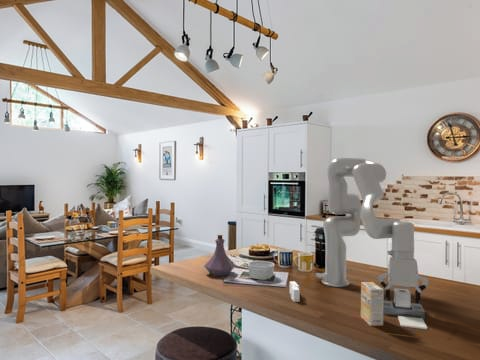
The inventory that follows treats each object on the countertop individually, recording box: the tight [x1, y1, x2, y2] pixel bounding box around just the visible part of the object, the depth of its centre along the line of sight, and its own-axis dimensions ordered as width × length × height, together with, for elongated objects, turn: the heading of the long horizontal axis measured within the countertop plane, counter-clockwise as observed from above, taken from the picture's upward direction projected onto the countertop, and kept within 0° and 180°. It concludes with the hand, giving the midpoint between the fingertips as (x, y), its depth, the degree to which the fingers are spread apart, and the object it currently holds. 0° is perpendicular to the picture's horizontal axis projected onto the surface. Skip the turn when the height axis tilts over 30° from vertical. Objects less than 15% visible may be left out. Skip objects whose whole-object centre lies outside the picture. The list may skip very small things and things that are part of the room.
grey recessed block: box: [383, 299, 426, 320], centre depth 134 cm, size 14×8×3 cm, turn 73°
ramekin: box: [247, 260, 275, 279], centre depth 181 cm, size 13×13×7 cm
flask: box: [203, 234, 236, 277], centre depth 187 cm, size 16×16×20 cm
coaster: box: [397, 316, 428, 330], centre depth 125 cm, size 8×8×1 cm
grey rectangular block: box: [393, 287, 412, 309], centre depth 134 cm, size 5×5×8 cm
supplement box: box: [360, 281, 385, 327], centre depth 126 cm, size 8×5×13 cm, turn 5°
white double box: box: [289, 280, 301, 303], centre depth 152 cm, size 15×11×6 cm
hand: (402, 301), depth 134 cm, fingers open, 9 cm apart
